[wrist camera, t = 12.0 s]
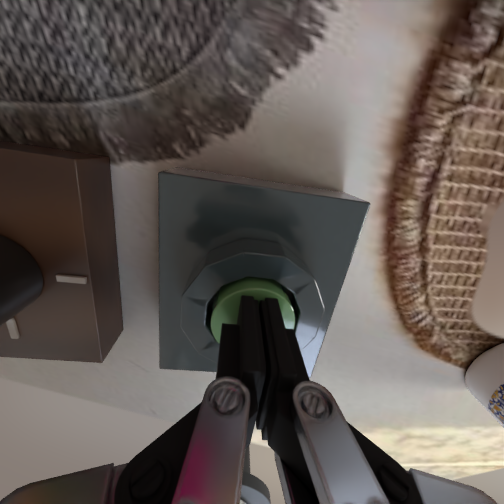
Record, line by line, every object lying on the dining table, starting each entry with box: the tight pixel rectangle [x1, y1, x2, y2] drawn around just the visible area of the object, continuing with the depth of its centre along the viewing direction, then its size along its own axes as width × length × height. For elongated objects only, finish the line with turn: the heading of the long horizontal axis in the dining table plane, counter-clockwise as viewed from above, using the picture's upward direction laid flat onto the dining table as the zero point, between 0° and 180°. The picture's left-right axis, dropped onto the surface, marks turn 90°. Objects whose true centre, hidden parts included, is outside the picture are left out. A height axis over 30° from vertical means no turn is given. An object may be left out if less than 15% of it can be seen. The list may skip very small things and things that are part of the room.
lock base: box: [0, 141, 123, 363], centre depth 13 cm, size 12×9×3 cm
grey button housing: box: [158, 167, 370, 378], centre depth 14 cm, size 12×10×5 cm
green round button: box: [211, 277, 295, 344], centre depth 12 cm, size 4×4×2 cm
